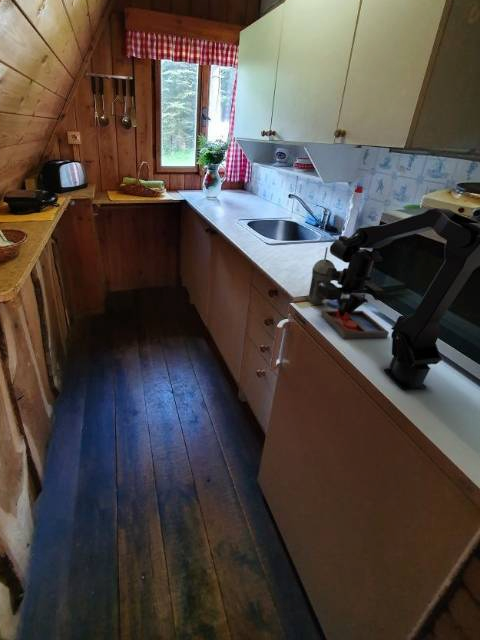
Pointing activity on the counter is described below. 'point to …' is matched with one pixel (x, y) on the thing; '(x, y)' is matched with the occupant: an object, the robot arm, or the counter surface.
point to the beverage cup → (319, 279)
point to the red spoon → (347, 320)
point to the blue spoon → (333, 303)
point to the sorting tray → (363, 329)
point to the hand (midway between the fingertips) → (342, 315)
